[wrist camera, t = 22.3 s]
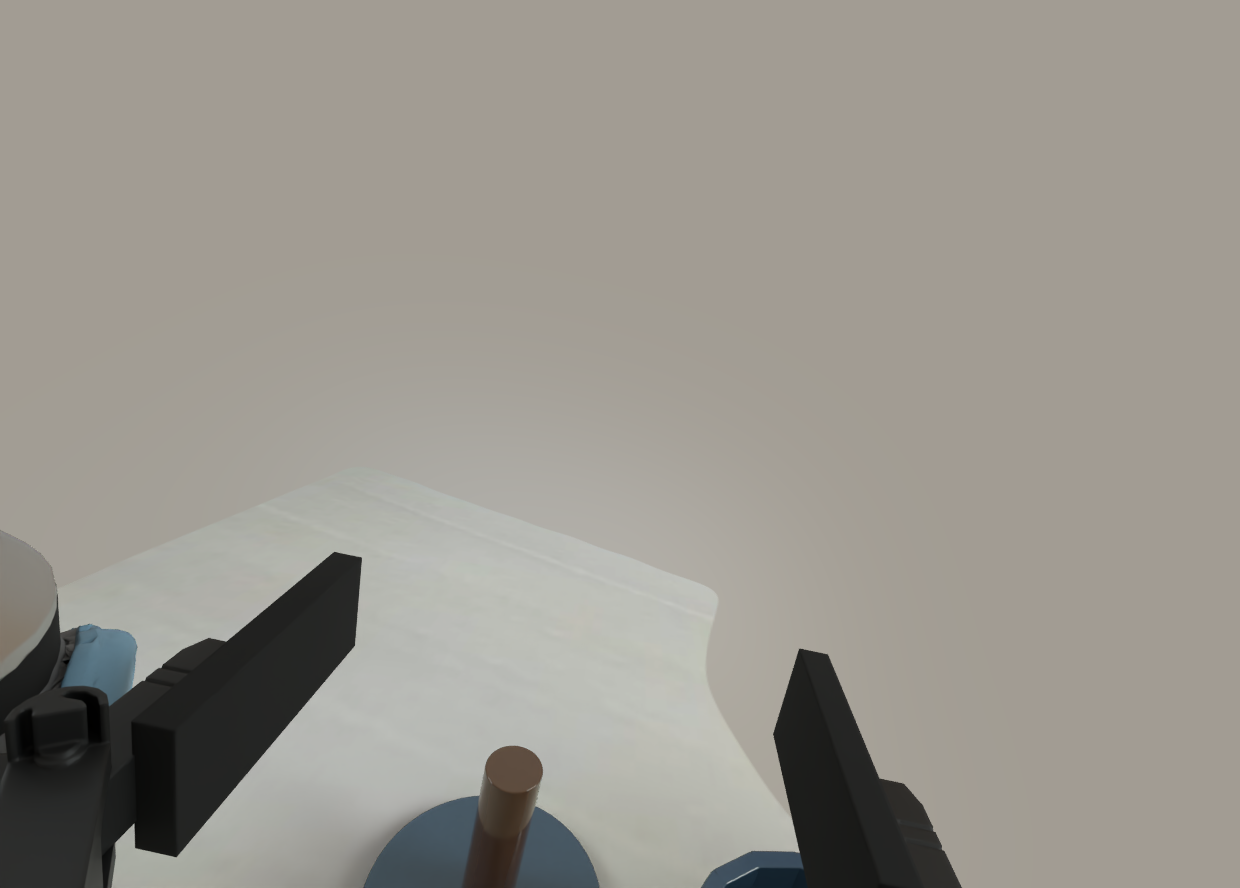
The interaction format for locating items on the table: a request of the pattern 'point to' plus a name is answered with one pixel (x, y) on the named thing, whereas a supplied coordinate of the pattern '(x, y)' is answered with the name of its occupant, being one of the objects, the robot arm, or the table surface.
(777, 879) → the canister
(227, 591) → the table surface
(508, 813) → the lid
